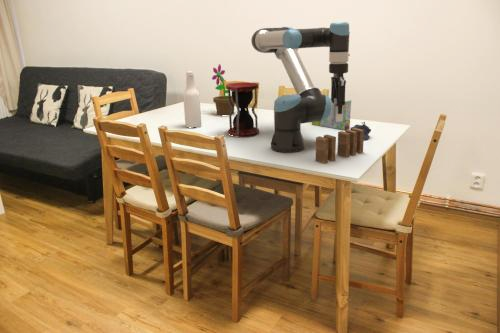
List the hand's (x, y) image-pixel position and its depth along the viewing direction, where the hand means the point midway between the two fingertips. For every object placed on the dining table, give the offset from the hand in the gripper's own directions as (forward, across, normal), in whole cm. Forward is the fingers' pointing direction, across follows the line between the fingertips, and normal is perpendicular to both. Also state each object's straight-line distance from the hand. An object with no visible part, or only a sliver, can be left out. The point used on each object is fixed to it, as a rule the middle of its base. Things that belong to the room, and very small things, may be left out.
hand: (337, 119), depth 184 cm
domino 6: (+15, +2, -10) cm, 18 cm away
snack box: (+15, +49, -10) cm, 52 cm away
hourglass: (+14, +43, +37) cm, 59 cm away
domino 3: (+1, 0, 0) cm, 1 cm away
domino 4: (+15, -2, -2) cm, 15 cm away
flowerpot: (+13, +92, +45) cm, 103 cm away
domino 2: (+15, -6, +5) cm, 17 cm away
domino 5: (+15, 0, -6) cm, 16 cm away
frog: (+15, +24, -18) cm, 33 cm away
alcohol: (+14, +63, +64) cm, 91 cm away
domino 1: (+15, -8, +8) cm, 19 cm away
